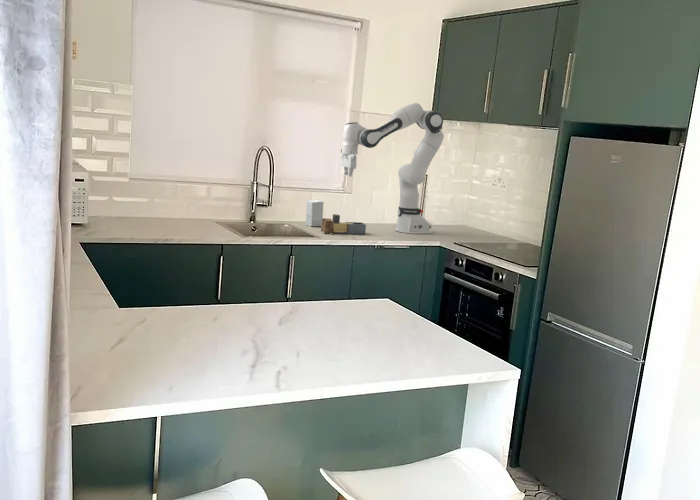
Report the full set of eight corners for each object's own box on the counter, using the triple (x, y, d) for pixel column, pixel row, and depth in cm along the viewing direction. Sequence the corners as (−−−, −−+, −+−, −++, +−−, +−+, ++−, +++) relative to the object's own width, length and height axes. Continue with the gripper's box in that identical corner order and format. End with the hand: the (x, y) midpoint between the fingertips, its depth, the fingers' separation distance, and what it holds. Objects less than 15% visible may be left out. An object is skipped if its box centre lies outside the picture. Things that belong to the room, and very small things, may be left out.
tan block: (351, 230, 400) (352, 214, 398) (353, 232, 396) (354, 216, 394) (327, 230, 396) (328, 214, 395) (329, 231, 392) (330, 215, 391)
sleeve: (361, 232, 404) (362, 222, 403) (365, 234, 396) (366, 224, 395) (344, 231, 401) (345, 221, 400) (348, 234, 393) (348, 224, 392)
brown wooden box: (329, 231, 399) (330, 218, 398) (333, 234, 391) (334, 221, 389) (320, 230, 398) (321, 218, 397) (324, 233, 389) (325, 220, 388)
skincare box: (316, 224, 419) (318, 199, 417) (322, 226, 415) (324, 201, 412) (304, 225, 414) (306, 200, 411) (311, 227, 410) (312, 201, 407)
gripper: (360, 152, 392) (358, 177, 394) (350, 150, 411) (349, 174, 414) (348, 152, 390) (347, 177, 393) (340, 149, 410) (338, 173, 412)
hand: (348, 175), depth 403 cm, fingers open, 8 cm apart
